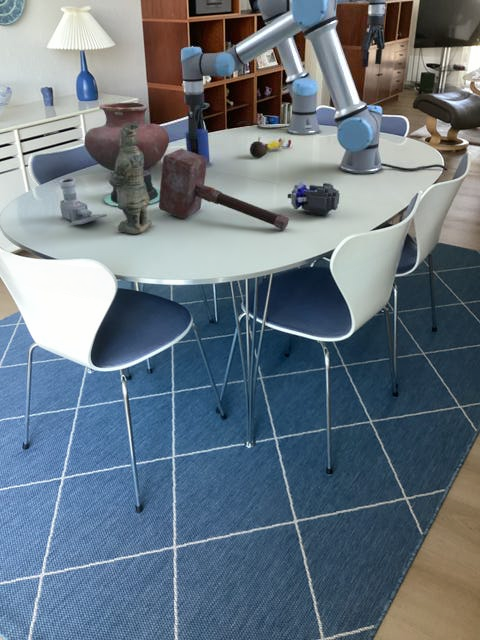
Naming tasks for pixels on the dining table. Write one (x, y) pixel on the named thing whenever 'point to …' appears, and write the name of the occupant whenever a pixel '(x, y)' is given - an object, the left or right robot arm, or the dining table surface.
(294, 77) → the left robot arm
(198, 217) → the dining table surface
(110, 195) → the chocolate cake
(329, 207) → the toy
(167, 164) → the sledgehammer
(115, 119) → the clay pot
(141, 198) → the statue
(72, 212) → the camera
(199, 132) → the canister
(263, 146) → the figurine
